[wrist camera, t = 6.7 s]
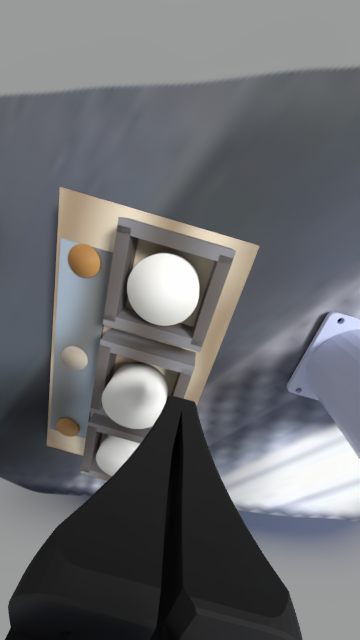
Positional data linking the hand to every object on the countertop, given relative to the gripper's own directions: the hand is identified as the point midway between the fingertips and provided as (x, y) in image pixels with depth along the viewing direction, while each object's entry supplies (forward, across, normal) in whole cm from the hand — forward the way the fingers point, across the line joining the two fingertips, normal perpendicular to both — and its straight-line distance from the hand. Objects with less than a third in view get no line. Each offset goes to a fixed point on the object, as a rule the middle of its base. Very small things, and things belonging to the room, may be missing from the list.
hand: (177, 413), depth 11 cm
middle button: (+5, +3, +4) cm, 7 cm away
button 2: (+7, +3, +12) cm, 14 cm away
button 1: (+7, +2, -4) cm, 8 cm away
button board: (+9, +4, +4) cm, 11 cm away
